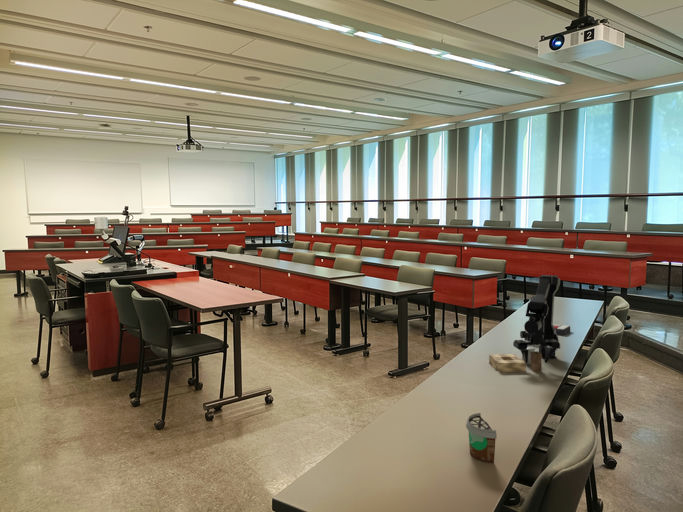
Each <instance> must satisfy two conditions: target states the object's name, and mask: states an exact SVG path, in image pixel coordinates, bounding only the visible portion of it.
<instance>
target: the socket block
mask: <svg viewBox="0 0 683 512" xmlns="http://www.w3.org/2000/svg"><path fill="white" fill-rule="evenodd" d="M488 361H489V363H488V364H489V365H491V367H493V368H494V370H495V371H497V372H499V373H508V372H509V373H510V372H511V373H515V372H527V371H526V369H527V365H526V362H525V361H523V360H522V357H519V356H518V355H517V354H515V353H512V354H511V353H509V354H508V353H507V354H505V353H503V354H489V355H488Z"/></svg>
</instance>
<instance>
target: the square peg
mask: <svg viewBox="0 0 683 512" xmlns="http://www.w3.org/2000/svg"><path fill="white" fill-rule="evenodd" d="M542 362H543V358H542V354H541V353H540V352H539V350H538V351H535V352H531V362H530V365H529V366H530V367H529V368H530V370H531V371H532V372H533V373H534V372H535V373H536V372H540V371H541V372H542V367H543V366H542Z"/></svg>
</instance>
